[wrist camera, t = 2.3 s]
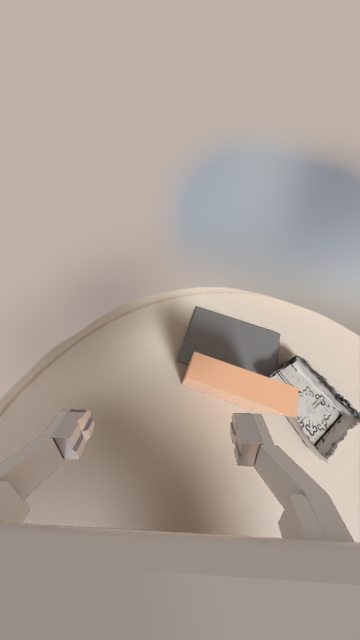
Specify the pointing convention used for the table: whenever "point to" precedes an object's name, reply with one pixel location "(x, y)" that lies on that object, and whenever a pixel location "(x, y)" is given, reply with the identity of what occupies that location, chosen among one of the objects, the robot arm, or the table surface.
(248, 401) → the orange block
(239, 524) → the table surface
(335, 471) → the table surface
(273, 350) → the mat
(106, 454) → the table surface
